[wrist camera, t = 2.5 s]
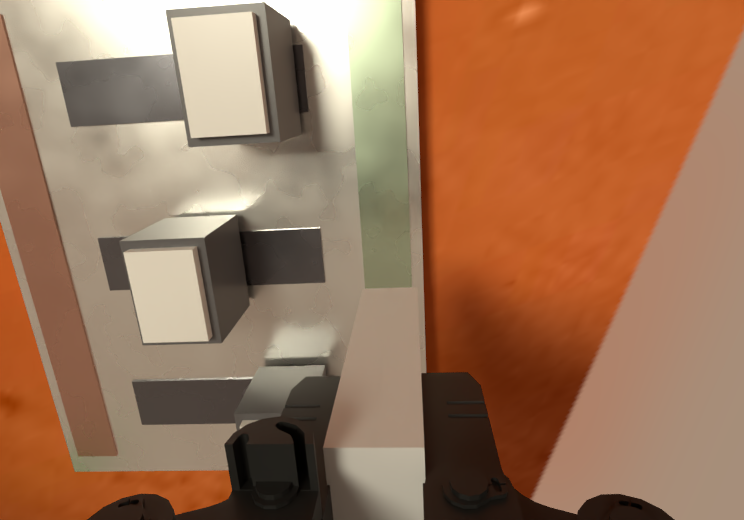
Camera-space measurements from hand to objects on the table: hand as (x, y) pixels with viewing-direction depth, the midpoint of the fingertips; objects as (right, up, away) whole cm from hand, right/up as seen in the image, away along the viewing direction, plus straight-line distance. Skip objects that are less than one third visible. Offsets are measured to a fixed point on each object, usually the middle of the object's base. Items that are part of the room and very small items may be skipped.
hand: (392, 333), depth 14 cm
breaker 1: (-5, +9, +5) cm, 11 cm away
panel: (-7, +2, +9) cm, 12 cm away
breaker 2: (-7, +2, +7) cm, 11 cm away
